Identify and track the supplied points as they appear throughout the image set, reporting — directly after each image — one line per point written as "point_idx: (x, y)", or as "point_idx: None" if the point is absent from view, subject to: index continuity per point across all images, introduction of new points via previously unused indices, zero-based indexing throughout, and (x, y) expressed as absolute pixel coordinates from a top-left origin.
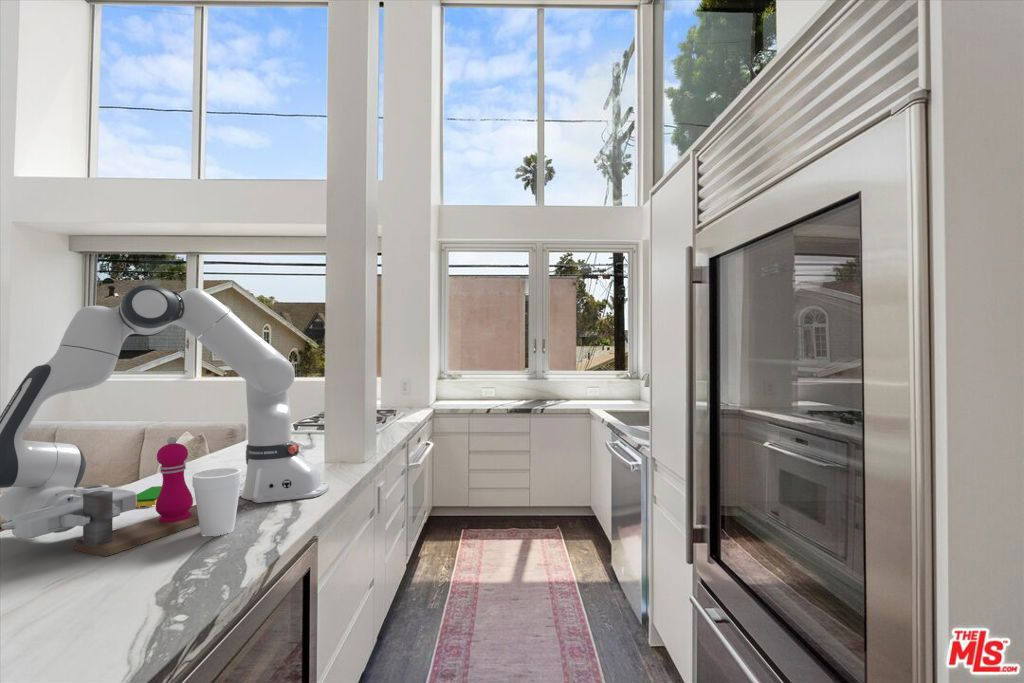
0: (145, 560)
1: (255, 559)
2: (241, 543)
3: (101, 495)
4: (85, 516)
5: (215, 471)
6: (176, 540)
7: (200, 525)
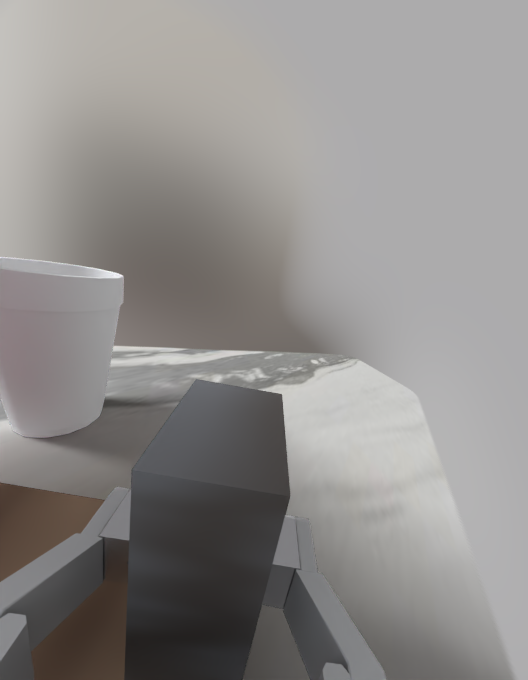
0: None
1: (209, 356)
2: (153, 373)
3: (252, 393)
4: (293, 516)
5: None
6: (108, 456)
7: (88, 404)
